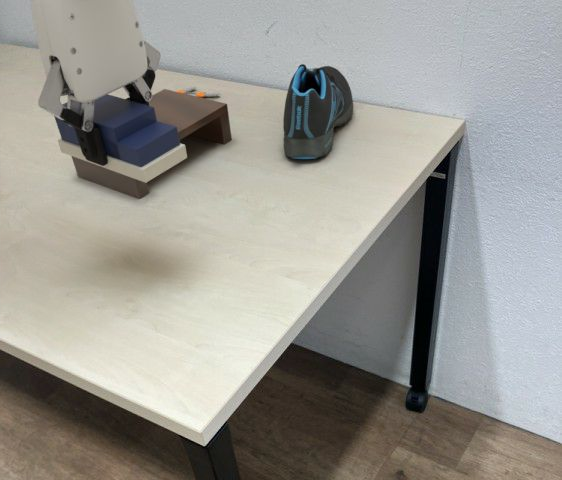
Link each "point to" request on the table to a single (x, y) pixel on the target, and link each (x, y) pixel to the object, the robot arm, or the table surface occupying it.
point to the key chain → (200, 94)
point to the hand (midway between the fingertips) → (121, 147)
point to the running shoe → (315, 111)
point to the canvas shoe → (128, 138)
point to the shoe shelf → (174, 111)
